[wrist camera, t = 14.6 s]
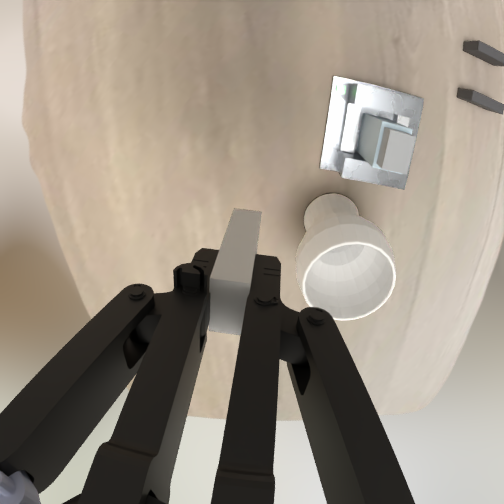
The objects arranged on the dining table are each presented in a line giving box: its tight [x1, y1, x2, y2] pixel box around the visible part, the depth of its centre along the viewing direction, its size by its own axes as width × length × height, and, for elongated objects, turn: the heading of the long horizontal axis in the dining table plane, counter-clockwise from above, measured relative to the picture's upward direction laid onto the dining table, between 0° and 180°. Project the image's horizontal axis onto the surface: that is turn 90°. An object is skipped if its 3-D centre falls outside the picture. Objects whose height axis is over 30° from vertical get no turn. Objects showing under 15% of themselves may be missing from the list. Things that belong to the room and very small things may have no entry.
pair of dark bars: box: [457, 41, 504, 114], centre depth 28 cm, size 8×6×4 cm, turn 174°
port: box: [319, 76, 424, 190], centre depth 34 cm, size 12×12×5 cm
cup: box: [295, 193, 396, 321], centre depth 37 cm, size 11×11×15 cm
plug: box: [356, 113, 416, 175], centre depth 32 cm, size 5×4×10 cm
